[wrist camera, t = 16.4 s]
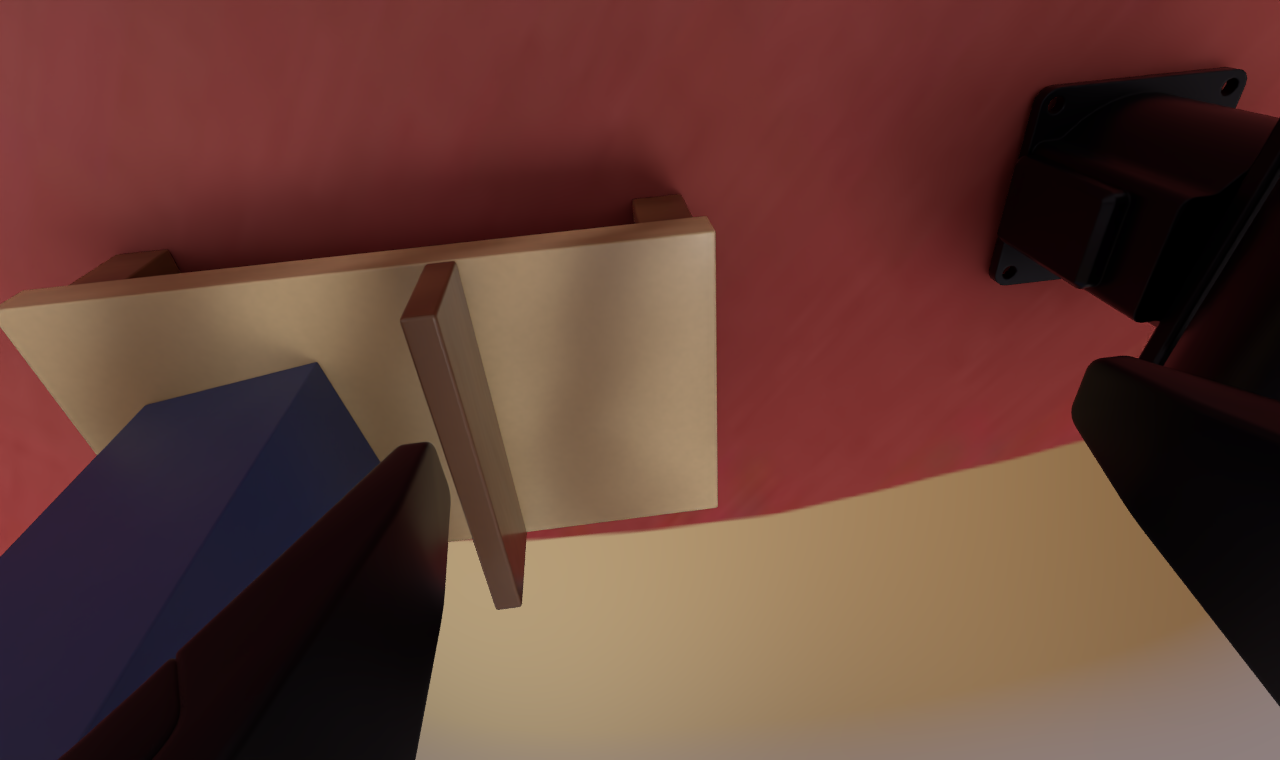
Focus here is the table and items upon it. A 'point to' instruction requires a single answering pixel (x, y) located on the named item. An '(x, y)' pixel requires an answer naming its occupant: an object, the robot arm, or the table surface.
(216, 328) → the wooden stand
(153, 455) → the navy carton
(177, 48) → the table surface
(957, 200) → the table surface
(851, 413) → the table surface
